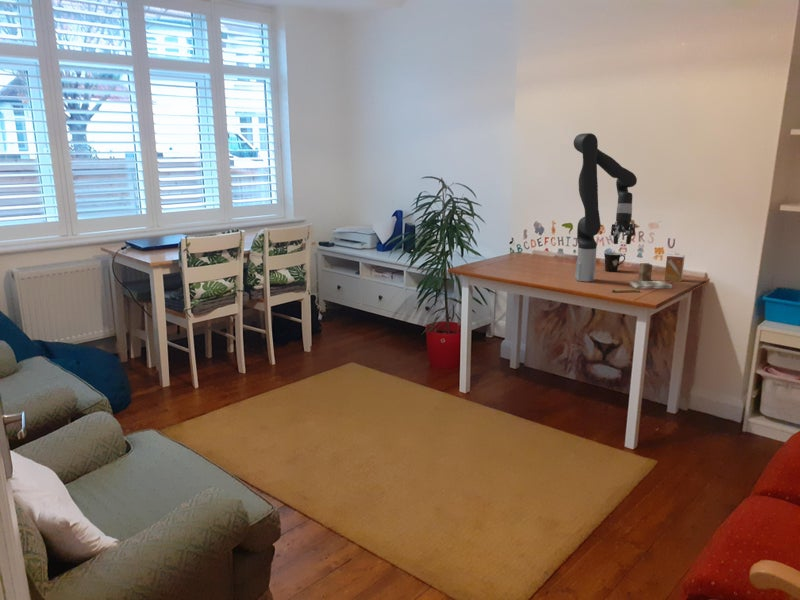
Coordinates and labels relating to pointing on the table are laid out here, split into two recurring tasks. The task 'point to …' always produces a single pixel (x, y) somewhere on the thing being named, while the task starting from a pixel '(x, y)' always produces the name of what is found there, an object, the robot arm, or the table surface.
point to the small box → (674, 267)
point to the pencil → (626, 290)
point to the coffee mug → (612, 261)
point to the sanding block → (645, 272)
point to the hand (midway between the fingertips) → (621, 244)
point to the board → (649, 284)
